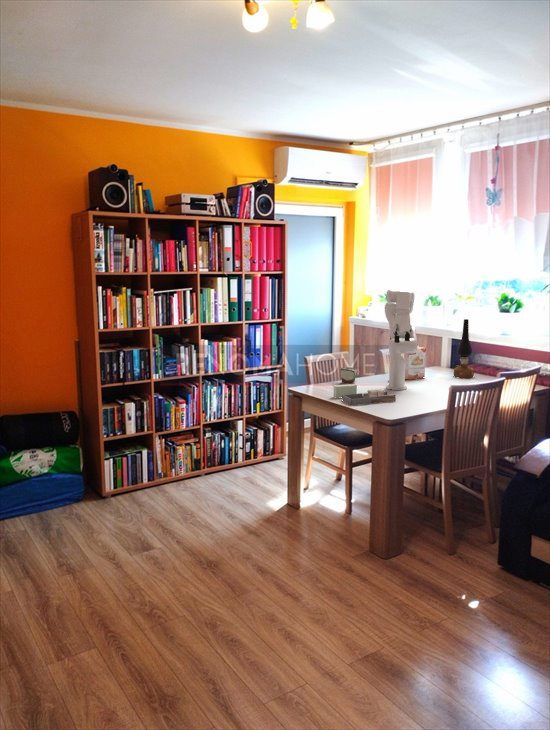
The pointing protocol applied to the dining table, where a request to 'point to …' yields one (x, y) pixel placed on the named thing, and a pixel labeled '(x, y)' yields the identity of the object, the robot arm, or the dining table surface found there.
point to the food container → (348, 375)
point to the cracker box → (415, 364)
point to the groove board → (381, 398)
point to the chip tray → (356, 399)
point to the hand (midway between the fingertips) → (402, 341)
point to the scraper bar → (344, 390)
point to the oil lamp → (464, 354)
